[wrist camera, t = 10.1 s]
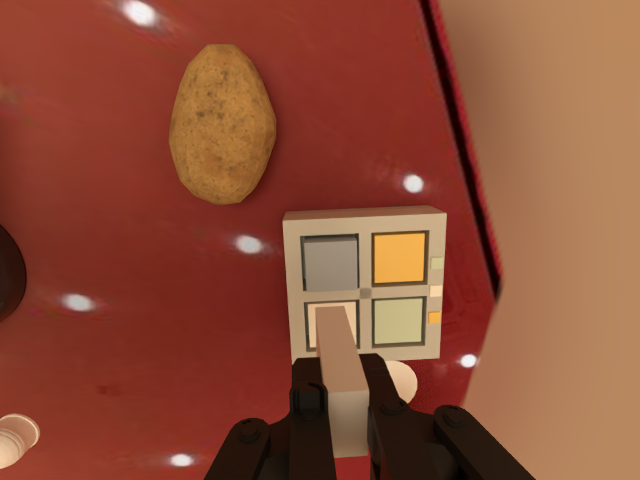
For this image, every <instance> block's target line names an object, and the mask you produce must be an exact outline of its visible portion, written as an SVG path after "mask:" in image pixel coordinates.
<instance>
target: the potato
mask: <svg viewBox="0 0 640 480" xmlns="http://www.w3.org/2000/svg"><path fill="white" fill-rule="evenodd" d="M275 140H276V117H275V114H274V111H273V108H272V106H271V103H270V100H269V97H268V94H267V92H266V89H265V86H264V84H263V81H262V79H261V77H260V75H259V73H258V71H257V69H256V68H255V66H254V64H253V62H252V61H251V60H250V59H249V58H248V57H247V56H246V55H245V54H244V53H243V52H242V51H241V50H240V49H239V48H238V47H237V46H236V45H235V44H208V45H207V46H206V47H205V48H204V49H203V50H202V51H201V52H200V53H199V54H198V55H197V56H196V57H195V58H194V59H193V60H192V61H191V62H190V63H189V64H188V66H187V69H186V71H185V74H184V76H183V78H182V81H181V83H180V86H179V90H178V93H177V97H176V100H175V104H174V108H173V112H172V117H171V121H170V131H169V145H170V149H171V153H172V157H173V161H174V164H175V167H176V170H177V173H178V176H179V179H180V182H181V183H182V184H183V185H184V186H185V187H186V188H187V189H188V190H189V191H190V192H191V193H192V194H193V195H194V196H196V197H198V198H201V199H203V200H205V201H208V202H210V203H212V204H215V205H225V204H233V203H240V202H241V201H242V200H243V199H244V198H245V197H246V196H247V195H248V194H250V193H251V192H252V191H253V190H254V189H255V187H256V186H257V184H258V182H259V180H260V179H261V177H262V175H263V173H264V171H265V169H266V166H267V163H268V161H269V158H270V155H271V152H272V149H273V146H274V143H275Z"/></svg>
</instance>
